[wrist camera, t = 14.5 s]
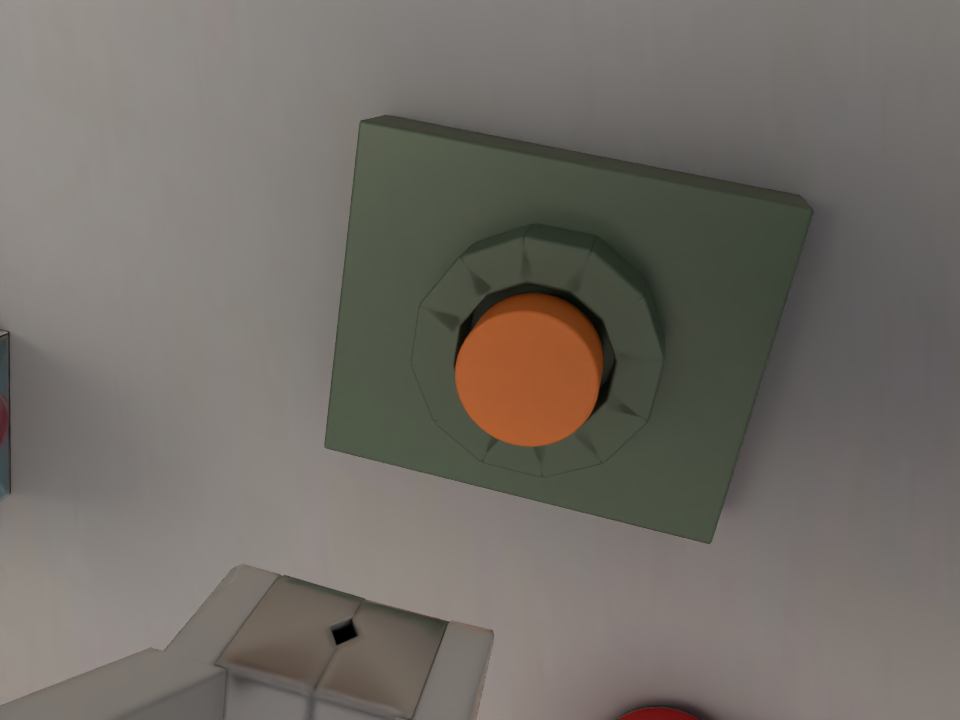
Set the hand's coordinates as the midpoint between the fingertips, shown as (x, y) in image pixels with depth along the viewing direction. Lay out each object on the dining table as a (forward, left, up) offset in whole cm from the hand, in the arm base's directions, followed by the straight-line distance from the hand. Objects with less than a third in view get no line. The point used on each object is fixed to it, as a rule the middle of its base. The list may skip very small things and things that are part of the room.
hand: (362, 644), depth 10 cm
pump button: (0, +1, -14) cm, 14 cm away
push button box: (0, +1, -17) cm, 17 cm away
